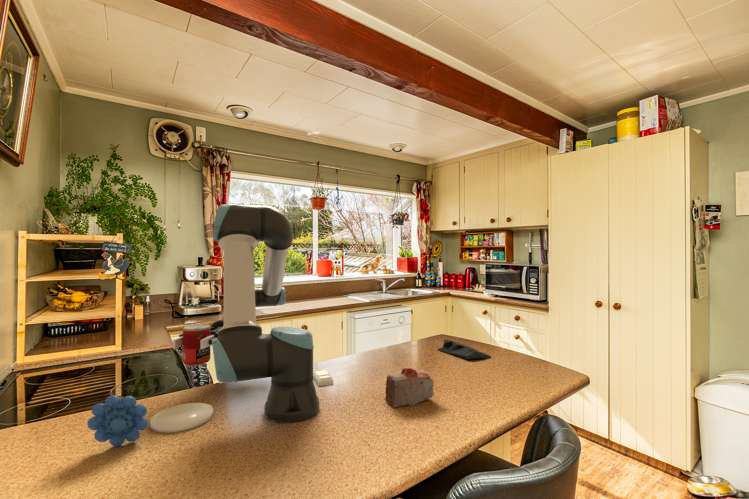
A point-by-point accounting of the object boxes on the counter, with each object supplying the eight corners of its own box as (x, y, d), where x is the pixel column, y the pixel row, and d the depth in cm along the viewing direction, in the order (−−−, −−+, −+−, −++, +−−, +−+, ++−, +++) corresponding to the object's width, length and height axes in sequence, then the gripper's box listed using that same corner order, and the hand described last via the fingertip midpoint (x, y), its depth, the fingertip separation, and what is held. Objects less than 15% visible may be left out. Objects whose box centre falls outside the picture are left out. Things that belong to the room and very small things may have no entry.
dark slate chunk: (464, 363, 146) (464, 351, 146) (435, 350, 166) (434, 339, 167) (494, 359, 152) (494, 347, 152) (462, 346, 173) (462, 336, 173)
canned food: (199, 366, 108) (199, 329, 109) (176, 364, 110) (176, 328, 110) (215, 358, 116) (215, 324, 116) (194, 357, 117) (194, 323, 118)
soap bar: (326, 376, 131) (326, 369, 131) (333, 385, 123) (333, 377, 123) (312, 378, 129) (312, 371, 129) (319, 387, 121) (319, 379, 121)
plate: (224, 414, 100) (224, 410, 100) (170, 438, 87) (170, 433, 87) (192, 402, 108) (192, 398, 108) (138, 423, 95) (138, 418, 95)
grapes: (84, 462, 77) (84, 406, 77) (88, 448, 83) (88, 396, 83) (148, 447, 83) (148, 395, 83) (148, 434, 89) (148, 385, 89)
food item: (420, 392, 115) (420, 361, 115) (435, 401, 108) (435, 369, 108) (383, 400, 109) (383, 368, 109) (396, 411, 102) (396, 376, 102)
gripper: (252, 339, 130) (221, 357, 107) (197, 339, 132) (154, 356, 109) (252, 318, 130) (221, 332, 107) (197, 318, 132) (154, 331, 109)
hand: (187, 344), depth 108 cm, fingers closed on canned food, 8 cm apart
